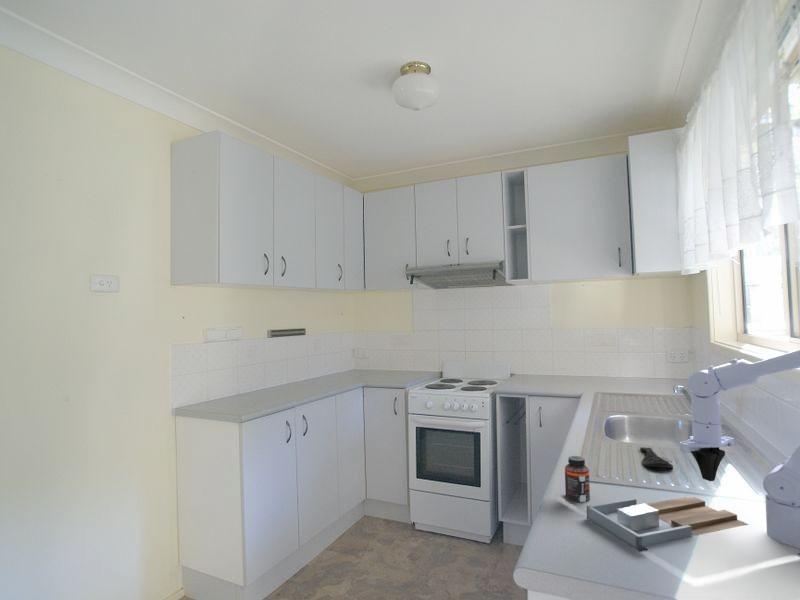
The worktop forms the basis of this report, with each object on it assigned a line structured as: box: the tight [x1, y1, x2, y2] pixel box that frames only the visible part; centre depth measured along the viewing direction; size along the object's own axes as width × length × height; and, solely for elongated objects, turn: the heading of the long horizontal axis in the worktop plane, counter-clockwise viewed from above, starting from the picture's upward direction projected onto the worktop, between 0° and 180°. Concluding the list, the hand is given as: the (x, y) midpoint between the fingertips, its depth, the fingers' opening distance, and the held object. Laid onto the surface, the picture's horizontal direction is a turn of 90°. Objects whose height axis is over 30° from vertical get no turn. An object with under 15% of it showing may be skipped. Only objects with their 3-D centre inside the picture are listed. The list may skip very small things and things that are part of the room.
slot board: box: [645, 496, 749, 536], centre depth 109 cm, size 16×16×2 cm
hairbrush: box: [640, 447, 674, 469], centre depth 152 cm, size 8×4×25 cm
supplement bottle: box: [564, 455, 591, 504], centre depth 120 cm, size 6×6×11 cm
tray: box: [586, 497, 693, 553], centre depth 105 cm, size 16×14×3 cm
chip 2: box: [632, 503, 660, 529], centre depth 105 cm, size 4×4×4 cm
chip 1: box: [616, 506, 647, 532], centre depth 104 cm, size 4×4×4 cm
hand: (708, 479), depth 108 cm, fingers closed
